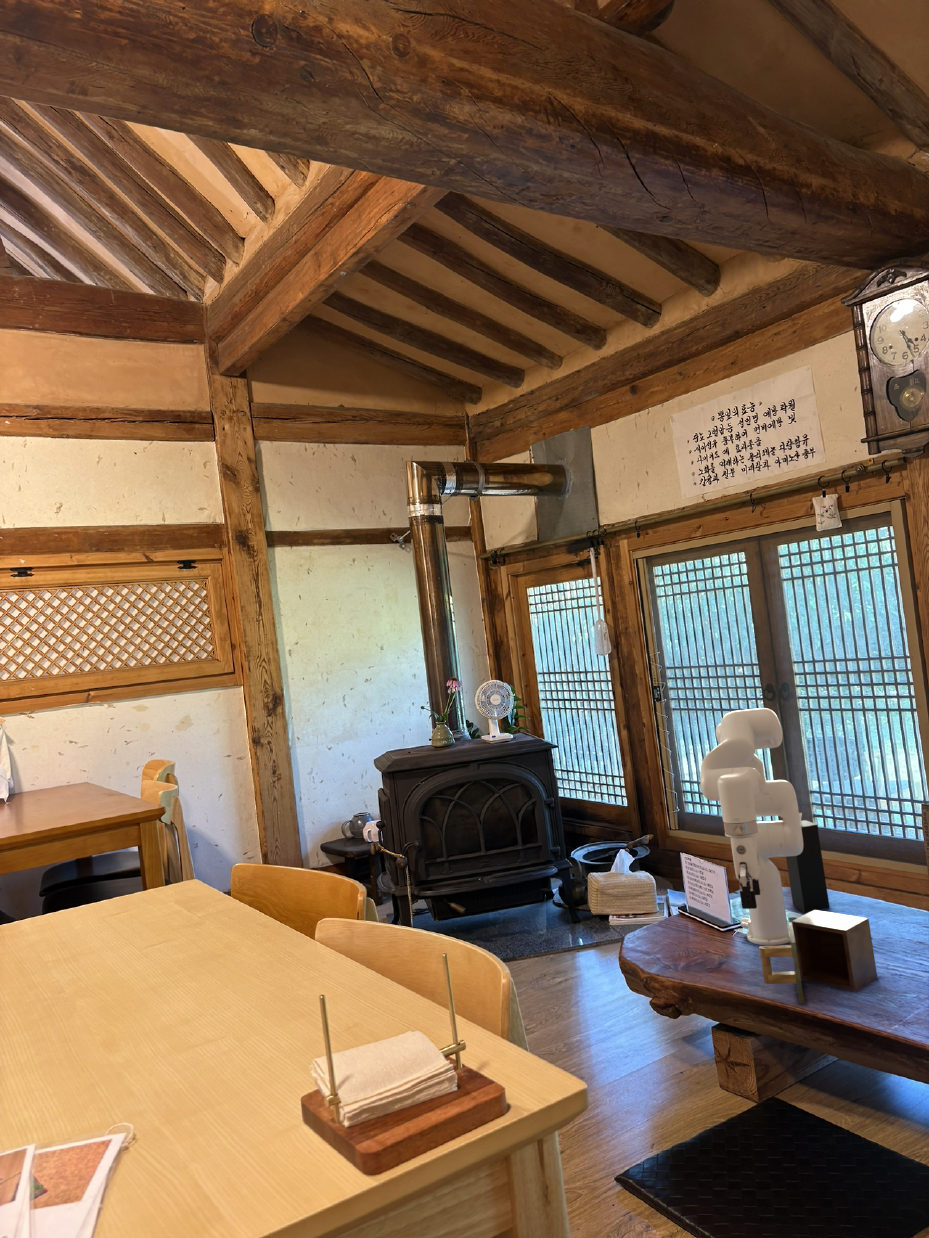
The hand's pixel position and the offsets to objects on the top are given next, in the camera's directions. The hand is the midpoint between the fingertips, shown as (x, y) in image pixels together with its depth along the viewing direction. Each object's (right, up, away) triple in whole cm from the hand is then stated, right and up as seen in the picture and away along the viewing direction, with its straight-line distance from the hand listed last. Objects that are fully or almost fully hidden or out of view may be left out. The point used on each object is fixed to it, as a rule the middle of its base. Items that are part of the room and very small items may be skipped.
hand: (751, 901), depth 207 cm
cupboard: (+22, -20, +5) cm, 30 cm away
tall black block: (+37, -21, +59) cm, 72 cm away
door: (+8, -22, +2) cm, 23 cm away
